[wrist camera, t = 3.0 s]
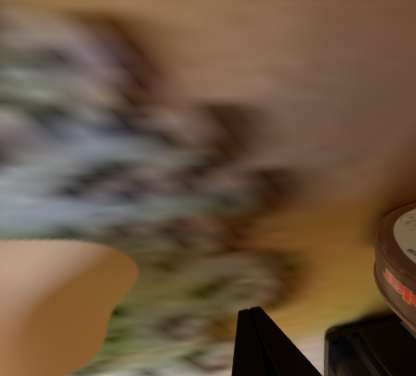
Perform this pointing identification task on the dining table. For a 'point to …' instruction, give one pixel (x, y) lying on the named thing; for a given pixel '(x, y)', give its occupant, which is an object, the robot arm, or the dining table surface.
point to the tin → (397, 262)
